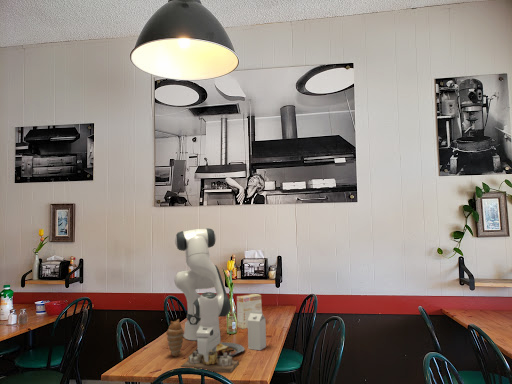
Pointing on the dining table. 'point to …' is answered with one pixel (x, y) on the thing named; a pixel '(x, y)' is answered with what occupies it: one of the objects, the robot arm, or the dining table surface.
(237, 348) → the food plate
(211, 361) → the brass gear
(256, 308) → the coffeecake box
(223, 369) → the gear board
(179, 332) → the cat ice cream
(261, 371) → the dining table surface
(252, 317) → the milk carton
